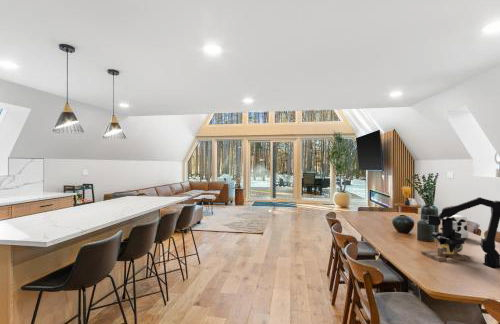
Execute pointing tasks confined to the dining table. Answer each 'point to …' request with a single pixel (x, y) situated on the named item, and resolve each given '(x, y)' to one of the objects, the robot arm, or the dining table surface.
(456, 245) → the coffee can
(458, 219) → the milk container
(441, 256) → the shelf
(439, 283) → the dining table surface
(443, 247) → the bight saddle
